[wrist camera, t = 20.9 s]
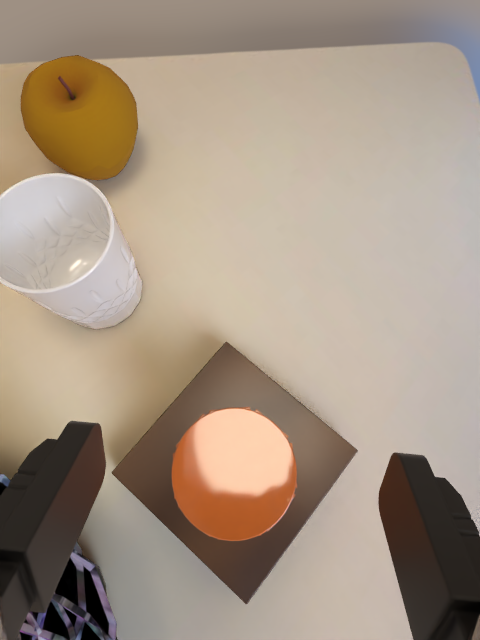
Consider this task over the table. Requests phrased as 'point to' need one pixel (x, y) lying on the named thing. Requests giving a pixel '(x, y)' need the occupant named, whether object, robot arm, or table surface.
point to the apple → (80, 116)
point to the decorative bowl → (73, 603)
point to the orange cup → (234, 473)
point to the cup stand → (279, 406)
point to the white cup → (67, 250)
